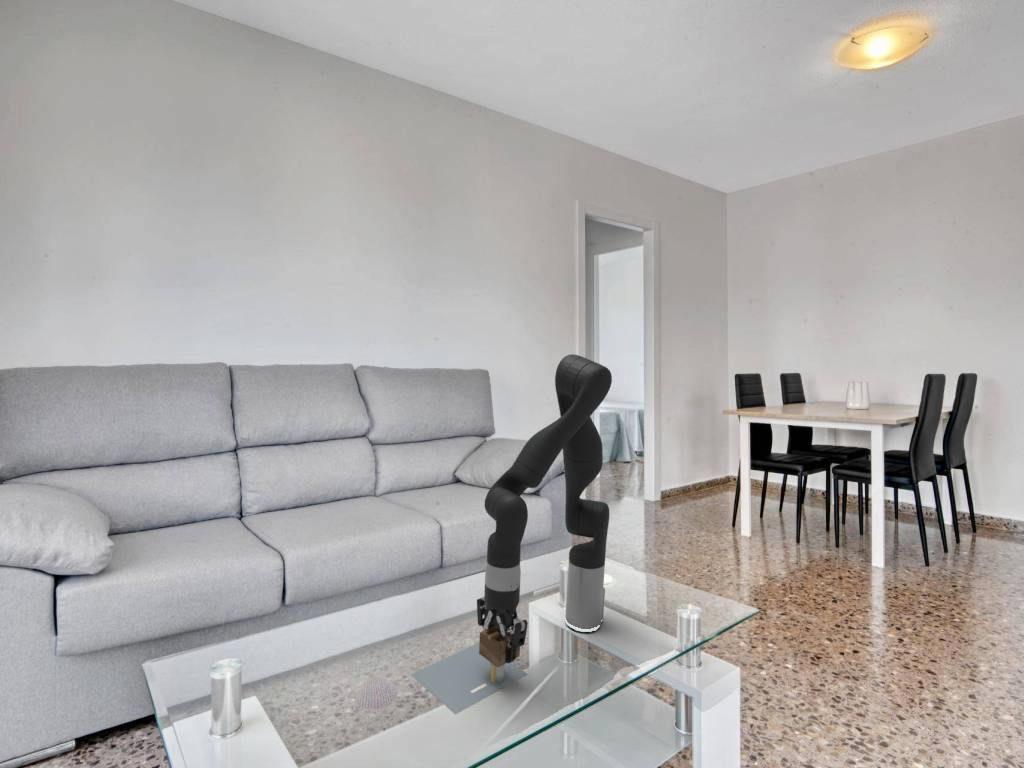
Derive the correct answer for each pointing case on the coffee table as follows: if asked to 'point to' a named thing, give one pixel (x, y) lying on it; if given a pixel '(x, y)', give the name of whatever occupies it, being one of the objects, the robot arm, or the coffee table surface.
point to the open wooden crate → (494, 646)
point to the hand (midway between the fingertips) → (499, 653)
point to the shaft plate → (466, 678)
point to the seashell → (376, 693)
